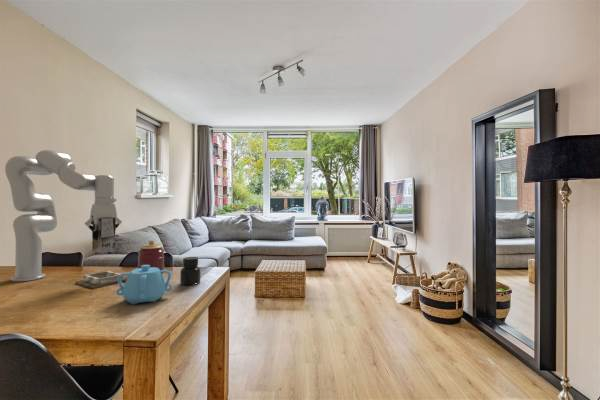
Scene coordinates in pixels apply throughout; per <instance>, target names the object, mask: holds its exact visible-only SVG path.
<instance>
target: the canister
mask: <svg viewBox="0 0 600 400" xmlns="http://www.w3.org/2000/svg"><path fill="white" fill-rule="evenodd" d="M163 247H164V246H163V245H162V244H160V243H155V241H154V240H149V241H148V243H146V244H145V243H144V244H142V245H141V246H140V247H139V249H140V250H137V253H138V257H137V269H138V268H141V266H142V265H150V267H149V268H151V267H156V268H159V270H160V271H161V270H165V255H164V253H165V250H164V249H163Z"/></svg>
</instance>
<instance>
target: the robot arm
mask: <svg viewBox="0 0 600 400" xmlns="http://www.w3.org/2000/svg"><path fill="white" fill-rule="evenodd" d="M4 168H5V169H4V170H5V175H6V178H7V180H8V183H9V186H10V192H11V196H12V197H11V198H12V202H13V207H14V209H15V210H16V211H17V212H21V213H22V212H24V213H25V214H21V215H19V216H17V217H15V219H14V220H13V223H12V227H13V231H14V236H15V263H14V264H15V265H14V266H15V268H14V269H15V270H14V273H15V275H14V276H11V277H10V281H11V282H27V281H29V282H30V281H35V280H39V279H42V278H45V277H46V273H42V264H43V263H42V261H43V260H42V259H43V257H42V253H43V242H42V241H43V240H42V238H41V237H40V235H39V233H47V232H53V231H55V229H56V228H57V226H58V218H57V213H56V208H55V207H56V206H55V203H54V200H53V198H52V196H50V195H49V194H47V193H43V192H42V193H41V192H40V193H39V192H38V193H37V192H36V191H35V185H34V182H33V180H32V179H31V178H30V177H29V176H28V175H34V176H35V175H36V176H49V175H53V174H56V175H57V176H58V179H59V181H60V182H61V183H62V184H63V185H66V186H67V187H69V188H71V189H74V190H76V191H89V192H90V191H92V192H94V203H93V204H92V205H91V210H90V216H89V219H88V220H87V221H85V222H84V225H85V226H86V227H87V228H89V230H90V231H91V233H92V235H91V237H92V238H93V239H94V240H98V231H97V229H98V225H99V218H116V220H115V231H116V230H117V228H118V227H119V226H120V225H121V224H122V222H123V221H122V220H121V219H120V218H119V217H118V214H117V208H116V204H115V202H117V198H115V197H114V196H115V192H114V191H115V187H114V186H115V178H114V177H113V176H112V175H107V174H99V175H94V174H86V173H85V174H84V173H79V172H76V164H75V163H74V162H73V161H72V158H71V156H70V155H69V154H67V153H64V152H60V151H56V150H55V151H54V150H48V149H46V150H45V149H44V150H40V151H39V152H37V153H36V154H35V157H32V156H25V155H16V156H13V157H10V158H9V159H8V160H7V162H6V164H5V167H4ZM33 212H36V213H33ZM27 213H29V214H27Z"/></svg>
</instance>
